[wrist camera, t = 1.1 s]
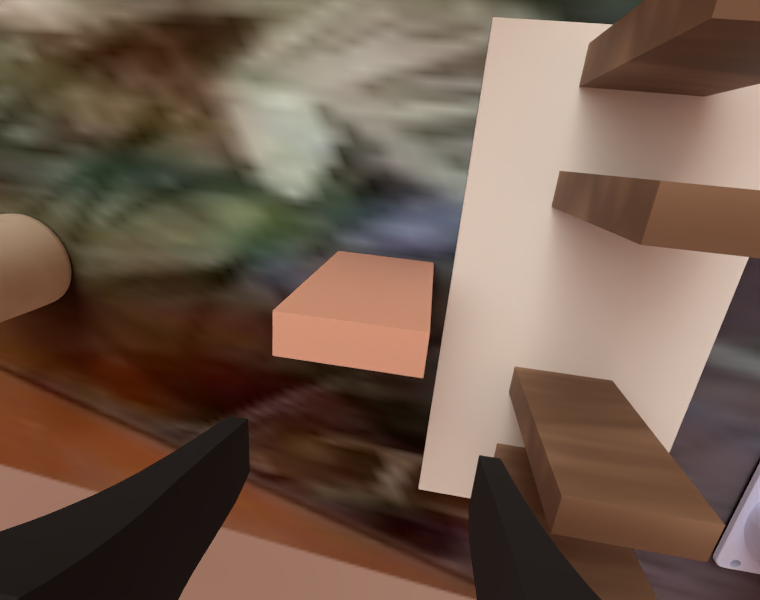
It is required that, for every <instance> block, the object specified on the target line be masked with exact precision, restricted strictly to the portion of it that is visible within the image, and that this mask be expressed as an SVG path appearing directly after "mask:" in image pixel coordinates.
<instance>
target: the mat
mask: <svg viewBox="0 0 760 600" xmlns="http://www.w3.org/2000/svg"><path fill="white" fill-rule="evenodd" d="M611 26H612V25H610V24H594V23H578V22H562V21H546V20H530V19H514V18H498V17H493V19H492V24H491V30H490V37H489V43H488V50H487V56H486V62H485V69H484V75H483V81H482V88H481V94H480V100H479V107H478V113H477V119H476V126H475V132H474V138H473V145H472V151H471V157H470V164H469V170H468V176H467V183H466V189H465V195H464V202H463V208H462V214H461V221H460V227H459V233H458V240H457V246H456V252H455V259H454V265H453V272H452V278H451V284H450V291H449V297H448V303H447V310H446V316H445V322H444V329H443V335H442V341H441V348H440V354H439V360H438V367H437V373H436V379H435V386H434V392H433V398H432V405H431V411H430V417H429V424H428V430H427V436H426V443H425V449H424V455H423V462H422V468H421V475H420V481H419V489H420V490H426V491H432V492H437V493H443V494H449V495H454V496H460V497H465V498H471V493H472V488H473V483H474V478H475V473H476V468H477V463H478V458H479V455H482V456H488V457H494V454H495V450H496V445H497V443H500V444H506V445H512V446H518V447H524V448H525V445H524V442H523V439H522V435H521V432H520V428H519V425H518V422H517V418H516V415H515V412H514V408H513V405H512V401H511V398H510V395H509V389H510V385H511V380H512V376H513V371H514V367H515V366H516V367H523V368H530V369H536V370H543V371H550V372H557V373H564V374H571V375H578V376H585V377H592V378H599V379H605V380H612V381H613V382H614V383H615V385H616V386H617V387H618V388H619V390H620V391H621V392H622V394H623V395H624V396H625V397H626V399H627V400H628V401H629V402H630V404H631V405H632V406H633V408H634V409H635V410H636V411H637V413H638V414H639V415H640V417H641V418H642V419H643V420H644V422H645V423H646V424H647V426H648V427H649V428H650V429H651V431H652V432H653V433H654V435H655V436H656V437H657V438H658V440H659V441H660V442H661V444H662V445H663V446H664V447H665V449H666V450H667V451H668V453H669V452H670V450H671V447H672V445H673V442H674V440H675V437H676V435H677V432H678V430H679V428H680V425H681V423H682V420H683V418H684V415H685V413H686V410H687V408H688V405H689V403H690V400H691V398H692V396H693V393H694V391H695V388H696V386H697V383H698V381H699V378H700V376H701V373H702V371H703V369H704V366H705V364H706V361H707V359H708V356H709V354H710V351H711V349H712V346H713V344H714V342H715V339H716V337H717V334H718V332H719V329H720V327H721V324H722V322H723V319H724V317H725V315H726V312H727V310H728V307H729V305H730V302H731V300H732V297H733V295H734V292H735V290H736V288H737V285H738V283H739V280H740V278H741V275H742V273H743V270H744V268H745V265H746V263H747V261H748V258H749V257H744V256H735V255H726V254H717V253H708V252H699V251H690V250H682V249H673V248H664V247H655V246H646V245H640V244H638V243H635V242H633V241H630V240H628V239H626V238H623V237H621V236H619V235H616V234H614V233H612V232H609V231H607V230H605V229H602V228H600V227H598V226H595V225H593V224H591V223H588V222H586V221H584V220H581V219H579V218H577V217H574V216H572V215H570V214H567V213H565V212H563V211H560V210H558V209H556V208H553V207H551V206H552V202H553V197H554V193H555V189H556V184H557V180H558V176H559V171H568V172H578V173H588V174H598V175H609V176H619V177H629V178H639V179H649V180H660V181H670V182H680V183H690V184H701V185H711V186H721V187H731V188H741V189H752V190H760V84H756V85H752V86H748V87H744V88H739V89H735V90H731V91H727V92H722V93H718V94H714V95H710V96H705V97H703V96H690V95H678V94H665V93H652V92H639V91H626V90H613V89H600V88H588V87H579V84H580V80H581V76H582V71H583V67H584V62H585V58H586V54H587V49H588V45H589V43H590V42H591V41H593V40H594V39H595V38H596V37H598V36H599V35H600V34H602V33H603V32H604V31H606V30H607V29H608V28H609V27H611Z"/></svg>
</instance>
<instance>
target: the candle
mask: <svg viewBox="0 0 760 600" xmlns="http://www.w3.org/2000/svg"><path fill="white" fill-rule="evenodd" d="M70 282H71V264H70V260H69V257H68V254H67V252H66V250H65V248H64V246H63V244H62V243H61V241H60V240H59V238H58V237H57V236H56V235H55V234H54V233H53V231H52V230H50V229H49V228H48V227H47V226H46V225H44V224H43V223H42V222H40V221H38V220H37V219H34V218H32V217H30V216H26V215H22V214H0V322H3V321H5V320H8V319H11V318H13V317H16V316H19V315H21V314H24V313H27V312H30V311H32V310H35V309H38V308H40V307H43V306H45V305H48V304H50V303H52V302H54V301H56V300H58V299H59V298H61V297H62V296H63V295H64V294H65V293H66V291H67V290H68V288H69V285H70Z"/></svg>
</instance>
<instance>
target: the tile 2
mask: <svg viewBox="0 0 760 600" xmlns="http://www.w3.org/2000/svg"><path fill="white" fill-rule="evenodd" d="M509 395H510V398H511V401H512V405H513V408H514V412H515V415H516V418H517V422H518V425H519V428H520V432H521V435H522V439H523V442H524V445H525V449H526V452H527V455H528V459H529V462H530V466H531V469H532V472H533V476H534V479H535V482H536V486H537V489H538V493H539V496H540V499H541V503H542V506H543V509H544V513H545V516H546V520H547V523H548V526H549V530H550V533H551V534H556V535H562V536H567V537H573V538H578V539H583V540H589V541H594V542H600V543H605V544H611V545H616V546H622V547H627V548H633V549H638V550H644V551H649V552H654V553H660V554H665V555H671V556H676V557H682V558H687V559H693V560H698V561H704V562H707V561H708V559H709V557H710V555H711V553H712V551H713V549H714V547H715V545H716V543H717V541H718V539H719V537H720V535H721V533H722V531H723V529H724V527H725V524H724V523H723V522H722V520H721V519H720V518H719V517H718V515H717V514H716V513H715V512H714V510H713V509H712V508H711V506H710V505H709V504H708V503H707V501H706V500H705V499H704V497H703V496H702V495H701V494H700V492H699V491H698V490H697V488H696V487H695V486H694V485H693V483H692V482H691V481H690V479H689V478H688V477H687V476H686V474H685V473H684V472H683V470H682V469H681V468H680V467H679V465H678V464H677V463H676V461H675V460H674V459H673V458H672V456H671V455H670V454H669V453H668V451H667V450H666V449H665V447H664V446H663V445H662V444H661V442H660V441H659V440H658V438H657V437H656V436H655V435H654V433H653V432H652V431H651V429H650V428H649V427H648V426H647V424H646V423H645V422H644V420H643V419H642V418H641V417H640V415H639V414H638V413H637V411H636V410H635V409H634V408H633V406H632V405H631V404H630V402H629V401H628V400H627V399H626V397H625V396H624V395H623V394H622V392H621V391H620V390H619V388H618V387H617V386H616V385H615V383H614V382H613V381H612V380H605V379H599V378H592V377H585V376H578V375H571V374H564V373H557V372H550V371H543V370H536V369H530V368H523V367H516V366H515V367H514V371H513V376H512V380H511V385H510V389H509Z"/></svg>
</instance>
